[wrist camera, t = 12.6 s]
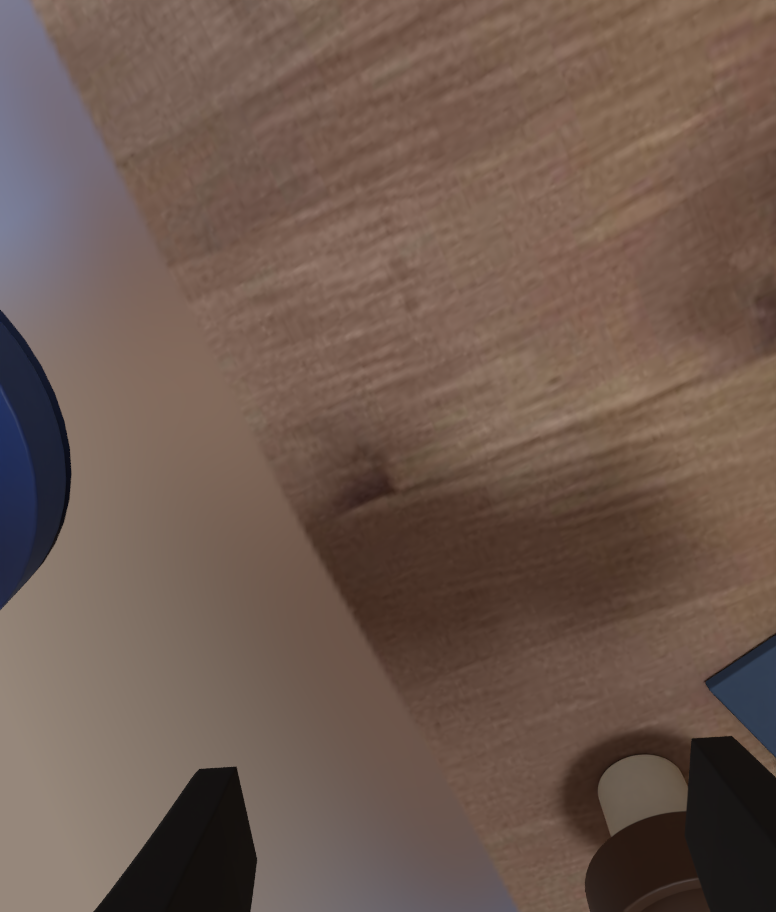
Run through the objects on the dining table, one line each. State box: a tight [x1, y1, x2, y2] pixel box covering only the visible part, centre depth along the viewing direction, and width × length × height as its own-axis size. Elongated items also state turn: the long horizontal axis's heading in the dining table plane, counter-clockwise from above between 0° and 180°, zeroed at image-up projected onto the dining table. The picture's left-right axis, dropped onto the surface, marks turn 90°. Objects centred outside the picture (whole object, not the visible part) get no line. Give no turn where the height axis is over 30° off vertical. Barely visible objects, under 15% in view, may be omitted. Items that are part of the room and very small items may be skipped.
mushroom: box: [585, 754, 710, 912], centre depth 20 cm, size 5×5×7 cm
